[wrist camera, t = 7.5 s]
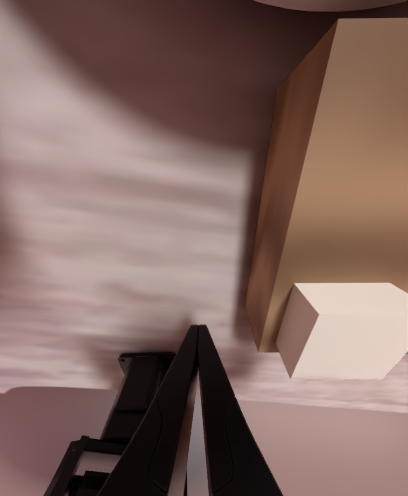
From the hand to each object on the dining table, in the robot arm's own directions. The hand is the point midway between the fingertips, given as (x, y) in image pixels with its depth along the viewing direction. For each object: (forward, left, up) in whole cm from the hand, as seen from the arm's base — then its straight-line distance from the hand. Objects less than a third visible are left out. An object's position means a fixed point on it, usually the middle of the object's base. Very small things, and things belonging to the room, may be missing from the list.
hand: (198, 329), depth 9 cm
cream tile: (0, -7, -1) cm, 8 cm away
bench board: (+4, -9, -5) cm, 11 cm away
